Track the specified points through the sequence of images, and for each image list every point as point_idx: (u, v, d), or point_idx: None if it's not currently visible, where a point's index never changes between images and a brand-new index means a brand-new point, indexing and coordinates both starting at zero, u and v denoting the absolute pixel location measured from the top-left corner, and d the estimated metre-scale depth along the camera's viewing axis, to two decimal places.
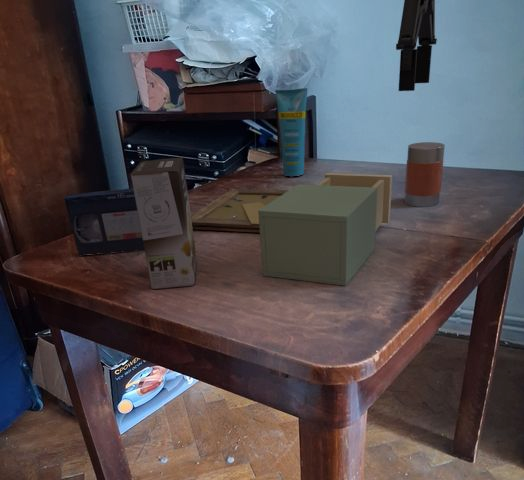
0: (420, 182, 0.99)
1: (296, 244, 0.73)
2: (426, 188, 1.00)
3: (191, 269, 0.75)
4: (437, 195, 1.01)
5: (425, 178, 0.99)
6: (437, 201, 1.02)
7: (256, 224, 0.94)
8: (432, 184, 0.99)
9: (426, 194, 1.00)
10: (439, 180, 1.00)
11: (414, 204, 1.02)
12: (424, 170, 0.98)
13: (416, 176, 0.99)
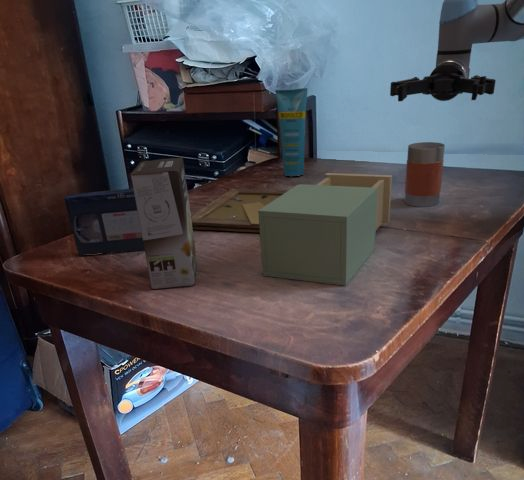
0: (420, 182, 0.99)
1: (296, 244, 0.73)
2: (426, 188, 1.00)
3: (191, 269, 0.75)
4: (437, 195, 1.01)
5: (425, 178, 0.99)
6: (437, 201, 1.02)
7: (256, 224, 0.94)
8: (432, 184, 0.99)
9: (426, 194, 1.00)
10: (439, 180, 1.00)
11: (414, 204, 1.02)
12: (424, 170, 0.98)
13: (416, 176, 0.99)
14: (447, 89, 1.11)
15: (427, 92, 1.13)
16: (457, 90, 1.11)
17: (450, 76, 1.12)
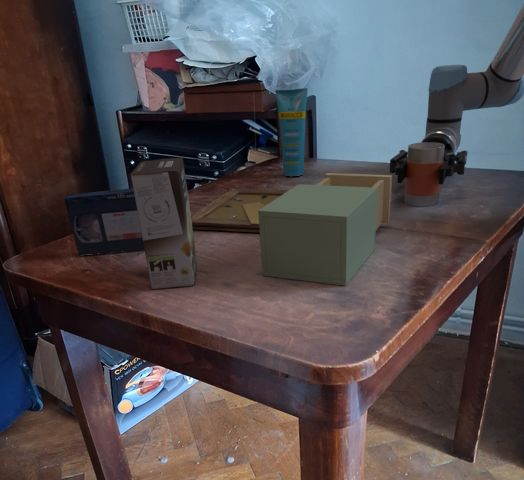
0: (420, 182, 0.99)
1: (296, 244, 0.73)
2: (426, 188, 1.00)
3: (191, 269, 0.75)
4: (437, 195, 1.01)
5: (425, 178, 0.99)
6: (437, 201, 1.02)
7: (256, 224, 0.94)
8: (432, 184, 0.99)
9: (426, 194, 1.00)
10: None
11: (414, 204, 1.02)
12: (424, 170, 0.98)
13: (416, 176, 0.99)
14: None
15: None
16: None
17: None
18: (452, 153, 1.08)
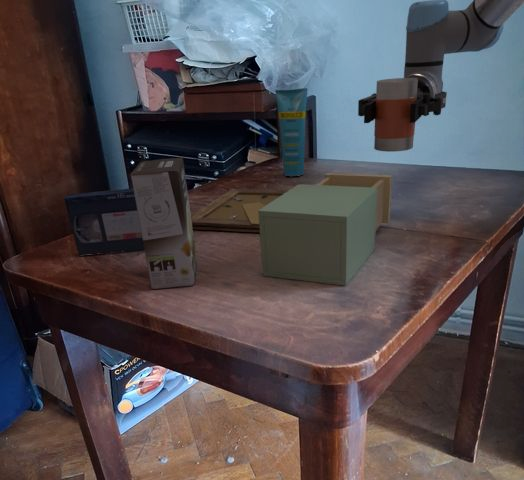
0: (390, 122, 0.87)
1: (296, 244, 0.73)
2: (397, 129, 0.88)
3: (191, 269, 0.75)
4: (410, 138, 0.89)
5: (396, 117, 0.87)
6: (410, 145, 0.90)
7: (256, 224, 0.94)
8: (404, 125, 0.87)
9: (397, 137, 0.88)
10: None
11: (384, 149, 0.90)
12: (395, 108, 0.86)
13: (386, 115, 0.87)
14: None
15: None
16: None
17: None
18: None
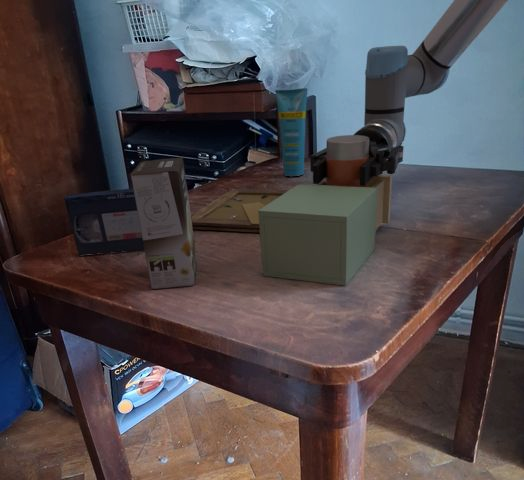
0: (341, 182, 0.83)
1: (296, 244, 0.73)
2: None
3: (191, 269, 0.75)
4: None
5: (347, 178, 0.82)
6: None
7: (256, 224, 0.94)
8: (356, 186, 0.83)
9: None
10: None
11: None
12: (345, 169, 0.82)
13: (336, 176, 0.83)
14: None
15: None
16: None
17: None
18: (386, 148, 0.92)
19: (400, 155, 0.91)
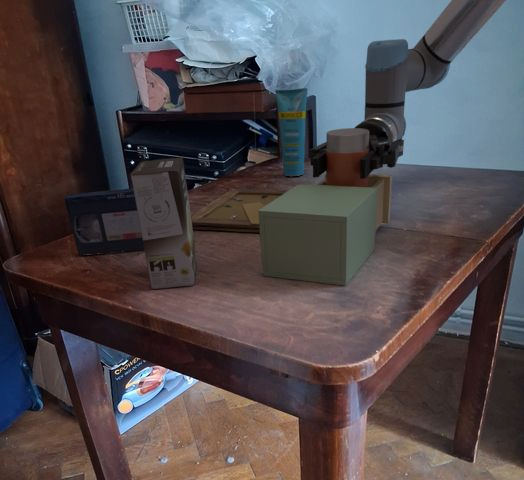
0: (341, 176, 0.82)
1: (296, 244, 0.73)
2: (349, 184, 0.83)
3: (191, 269, 0.75)
4: None
5: (347, 171, 0.82)
6: None
7: (256, 224, 0.94)
8: (356, 179, 0.83)
9: None
10: None
11: None
12: (345, 162, 0.81)
13: (336, 169, 0.82)
14: None
15: None
16: None
17: None
18: (386, 142, 0.91)
19: (400, 149, 0.90)
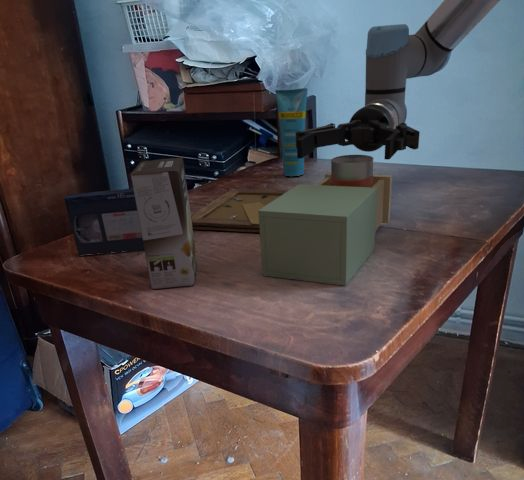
0: None
1: (296, 244, 0.73)
2: None
3: (191, 269, 0.75)
4: None
5: None
6: None
7: (256, 224, 0.94)
8: None
9: None
10: None
11: None
12: None
13: None
14: (366, 140, 0.90)
15: (343, 143, 0.91)
16: (378, 141, 0.89)
17: (370, 124, 0.90)
18: (387, 127, 0.90)
19: None
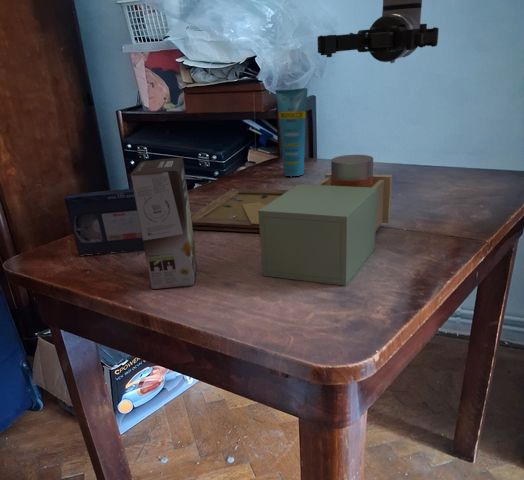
0: None
1: (296, 244, 0.73)
2: None
3: (191, 269, 0.75)
4: None
5: None
6: None
7: (256, 224, 0.94)
8: None
9: None
10: None
11: None
12: None
13: None
14: (385, 44, 0.93)
15: (363, 49, 0.95)
16: (397, 45, 0.92)
17: (389, 29, 0.94)
18: None
19: None
